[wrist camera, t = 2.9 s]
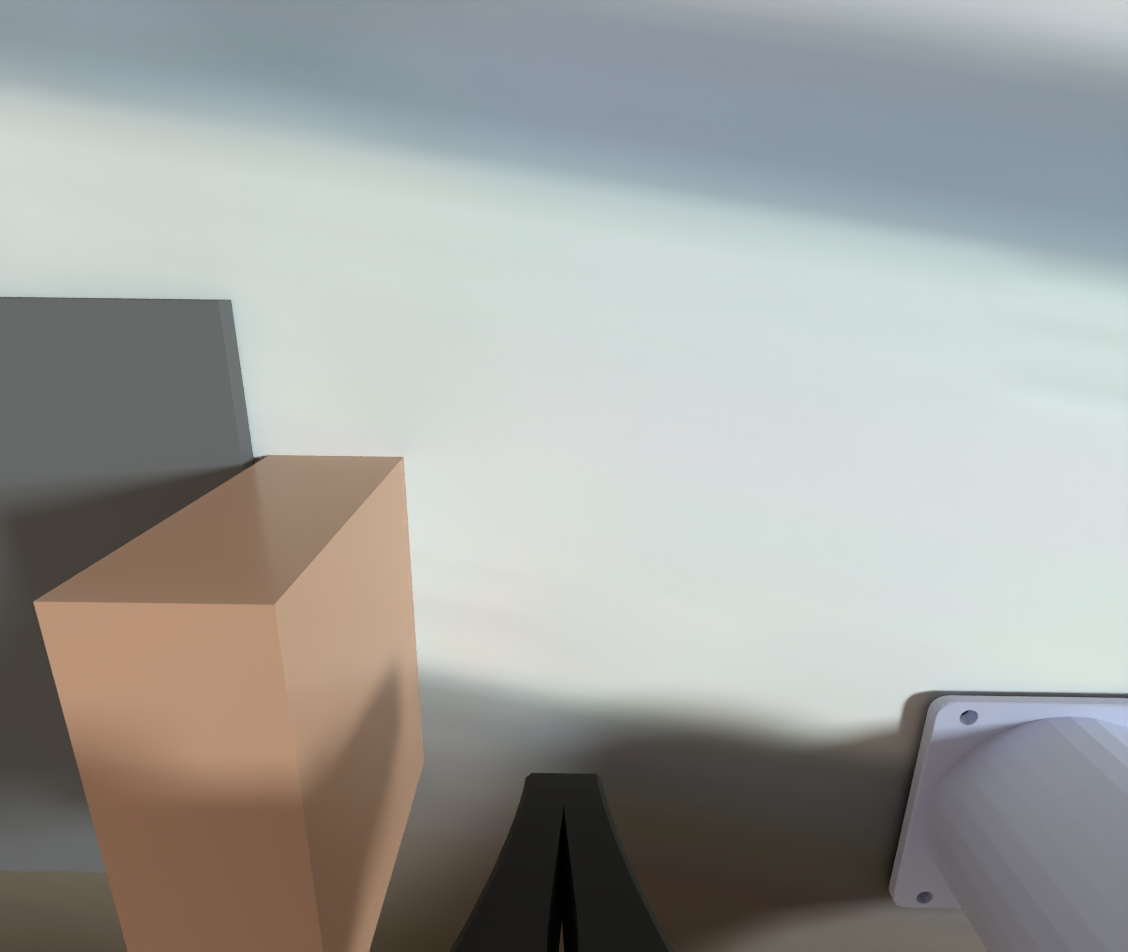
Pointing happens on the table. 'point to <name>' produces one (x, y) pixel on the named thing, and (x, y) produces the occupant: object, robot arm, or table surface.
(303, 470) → the terracotta block
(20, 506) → the mat
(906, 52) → the table surface
